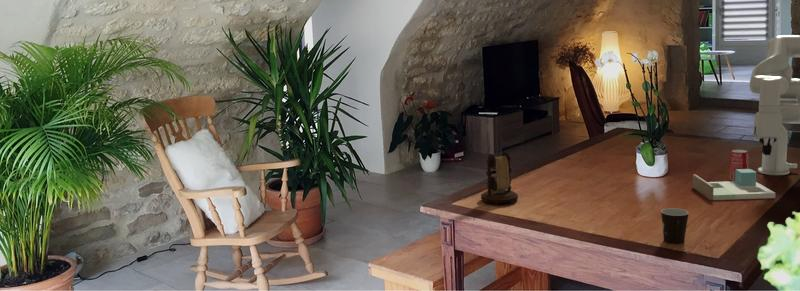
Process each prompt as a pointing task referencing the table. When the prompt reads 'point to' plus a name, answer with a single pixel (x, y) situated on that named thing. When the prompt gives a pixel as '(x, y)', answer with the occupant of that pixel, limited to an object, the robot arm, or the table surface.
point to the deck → (730, 190)
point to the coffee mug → (674, 225)
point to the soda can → (738, 161)
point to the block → (745, 177)
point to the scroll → (499, 180)
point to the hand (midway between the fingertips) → (766, 154)
